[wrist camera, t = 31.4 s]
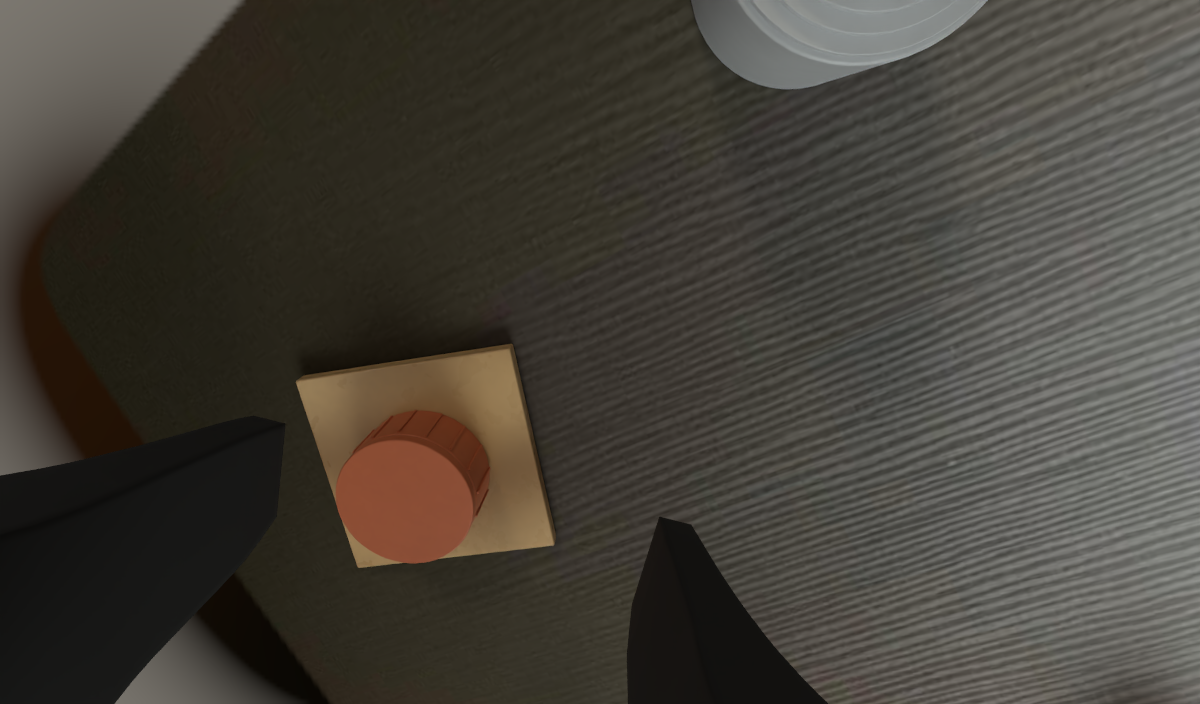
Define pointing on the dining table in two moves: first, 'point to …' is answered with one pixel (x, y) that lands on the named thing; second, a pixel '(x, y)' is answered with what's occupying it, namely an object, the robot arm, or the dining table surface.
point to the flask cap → (413, 487)
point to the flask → (822, 35)
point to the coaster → (463, 392)
